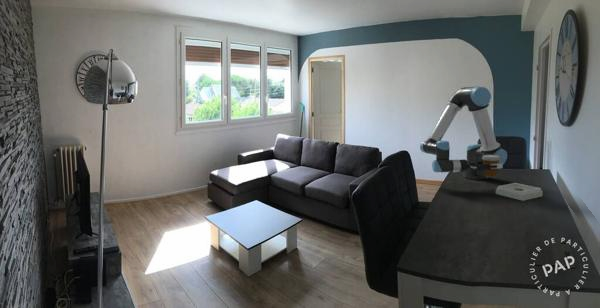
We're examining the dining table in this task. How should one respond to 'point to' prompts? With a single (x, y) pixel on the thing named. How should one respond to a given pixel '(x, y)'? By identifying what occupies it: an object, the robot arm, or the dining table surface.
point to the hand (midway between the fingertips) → (499, 164)
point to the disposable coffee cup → (490, 160)
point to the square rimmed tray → (519, 191)
